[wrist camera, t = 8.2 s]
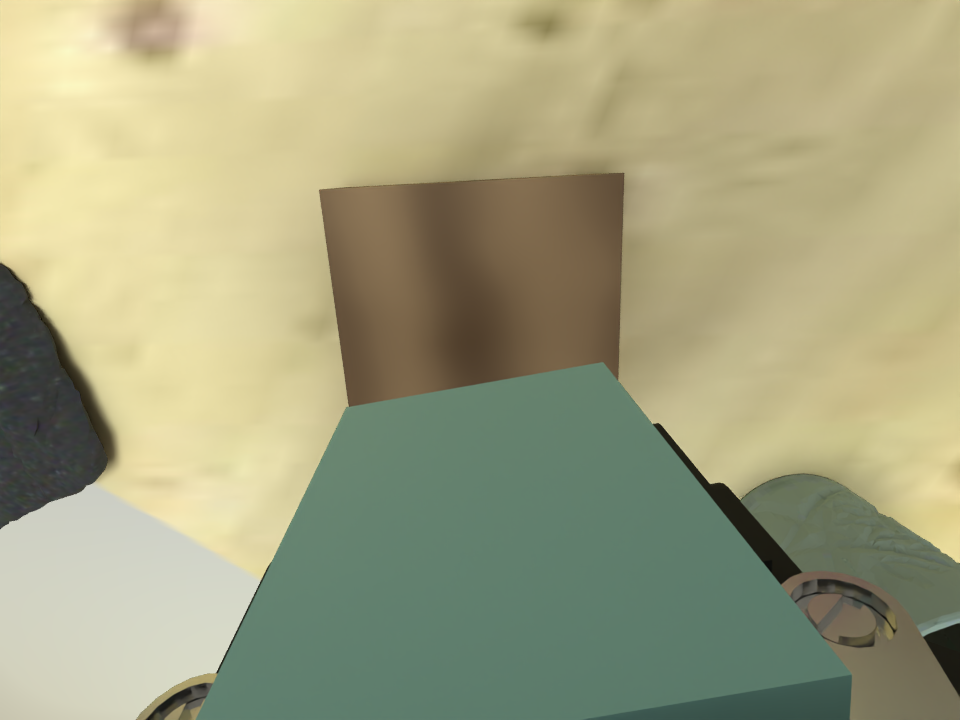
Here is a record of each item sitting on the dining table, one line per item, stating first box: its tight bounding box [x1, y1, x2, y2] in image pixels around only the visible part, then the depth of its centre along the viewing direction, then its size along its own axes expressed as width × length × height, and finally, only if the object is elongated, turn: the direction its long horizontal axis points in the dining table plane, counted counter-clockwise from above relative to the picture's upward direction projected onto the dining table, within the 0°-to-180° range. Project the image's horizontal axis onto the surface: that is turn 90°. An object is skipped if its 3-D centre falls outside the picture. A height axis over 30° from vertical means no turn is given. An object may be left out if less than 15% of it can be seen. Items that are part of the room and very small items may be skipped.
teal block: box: [196, 362, 852, 720], centre depth 8 cm, size 5×5×7 cm
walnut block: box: [319, 173, 624, 407], centre depth 26 cm, size 12×12×5 cm
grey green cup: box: [741, 474, 960, 652], centre depth 27 cm, size 10×10×12 cm
